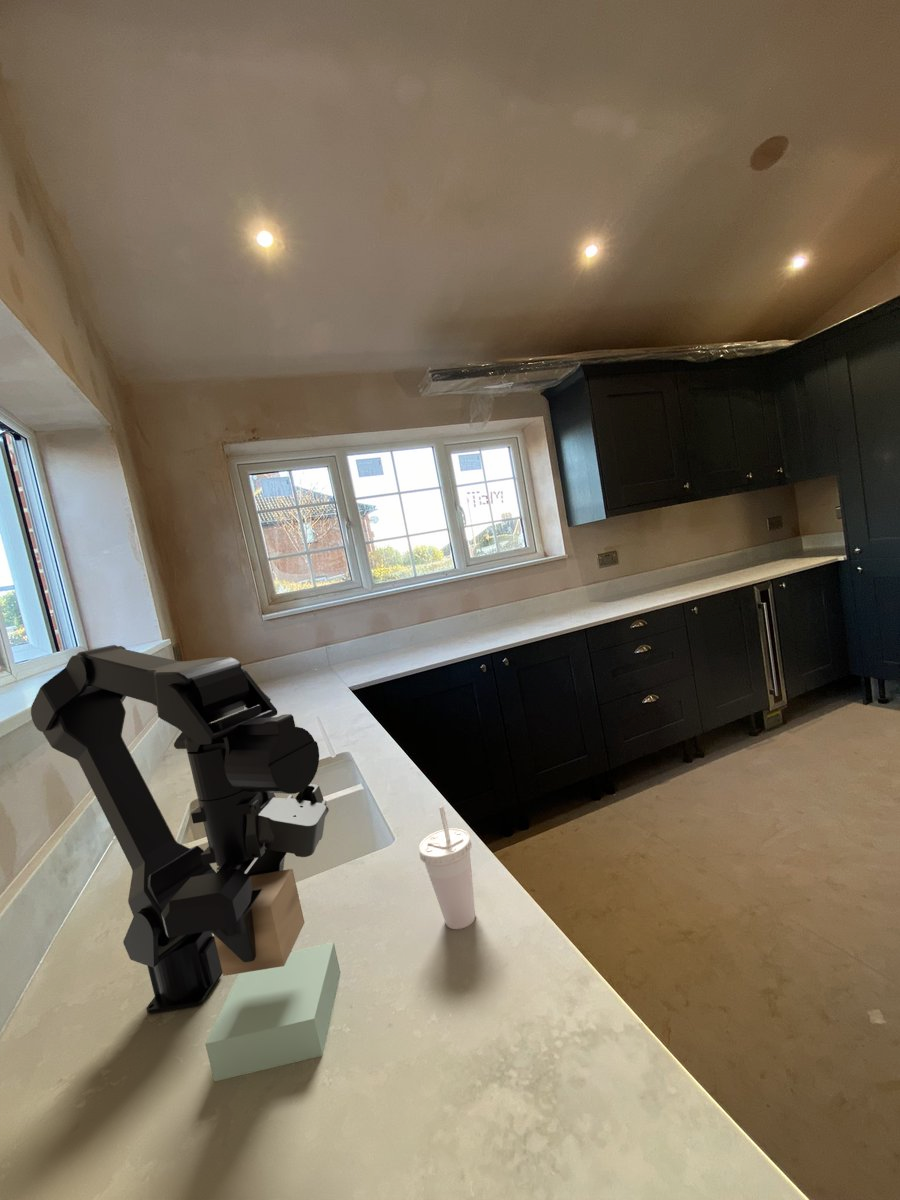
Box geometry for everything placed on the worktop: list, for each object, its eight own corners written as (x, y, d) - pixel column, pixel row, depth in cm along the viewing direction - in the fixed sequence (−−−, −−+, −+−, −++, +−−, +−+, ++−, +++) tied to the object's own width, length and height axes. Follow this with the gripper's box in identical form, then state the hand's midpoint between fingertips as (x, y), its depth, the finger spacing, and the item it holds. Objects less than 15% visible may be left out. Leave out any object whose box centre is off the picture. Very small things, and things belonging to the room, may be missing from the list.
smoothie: (482, 936, 58) (457, 818, 58) (428, 938, 60) (403, 823, 59) (489, 899, 65) (467, 792, 64) (440, 902, 66) (418, 797, 65)
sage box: (215, 1085, 47) (205, 1044, 47) (252, 996, 57) (244, 962, 57) (323, 1059, 47) (314, 1018, 47) (341, 975, 57) (333, 941, 57)
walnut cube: (223, 976, 49) (209, 916, 49) (250, 931, 55) (238, 878, 55) (284, 966, 49) (270, 905, 48) (304, 922, 55) (292, 868, 54)
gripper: (270, 819, 41) (312, 1002, 42) (333, 741, 60) (361, 869, 61) (139, 842, 42) (182, 1022, 43) (241, 758, 60) (270, 884, 61)
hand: (263, 936), depth 52 cm, fingers closed on walnut cube, 6 cm apart
